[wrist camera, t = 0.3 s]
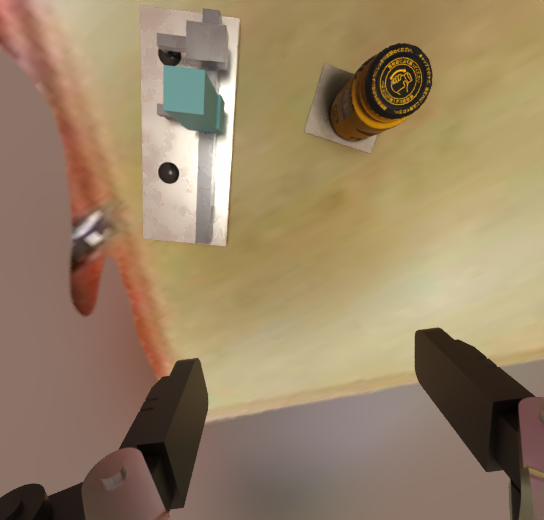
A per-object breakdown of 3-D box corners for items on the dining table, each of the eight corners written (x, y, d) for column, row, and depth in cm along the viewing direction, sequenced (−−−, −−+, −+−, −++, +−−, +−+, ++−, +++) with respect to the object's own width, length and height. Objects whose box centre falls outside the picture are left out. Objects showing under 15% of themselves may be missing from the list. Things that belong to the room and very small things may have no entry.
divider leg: (164, 100, 31) (115, 59, 21) (227, 107, 32) (209, 70, 21) (164, 130, 32) (117, 105, 22) (225, 136, 32) (207, 115, 22)
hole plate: (145, 13, 31) (121, -22, 25) (240, 25, 31) (235, -7, 26) (148, 236, 37) (128, 245, 32) (227, 243, 37) (221, 253, 32)
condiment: (370, 153, 35) (422, 139, 24) (303, 132, 34) (324, 106, 23) (393, 89, 33) (462, 39, 22) (323, 64, 33) (357, -1, 21)
